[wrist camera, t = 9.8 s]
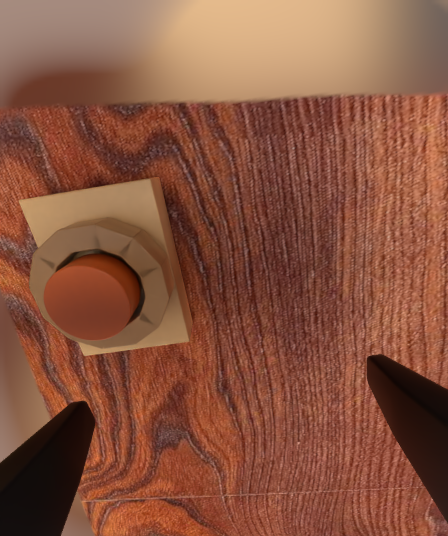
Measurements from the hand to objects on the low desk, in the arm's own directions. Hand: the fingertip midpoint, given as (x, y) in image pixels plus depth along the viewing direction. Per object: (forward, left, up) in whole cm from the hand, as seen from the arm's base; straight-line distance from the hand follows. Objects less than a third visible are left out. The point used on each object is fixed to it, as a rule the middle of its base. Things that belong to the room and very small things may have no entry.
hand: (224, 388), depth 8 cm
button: (-2, -6, -6) cm, 9 cm away
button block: (-1, -6, -10) cm, 12 cm away
